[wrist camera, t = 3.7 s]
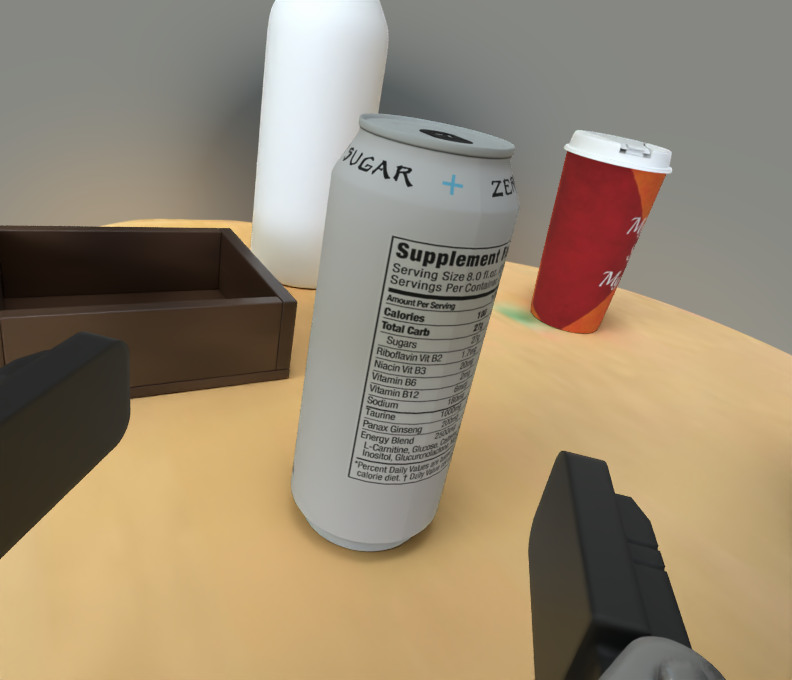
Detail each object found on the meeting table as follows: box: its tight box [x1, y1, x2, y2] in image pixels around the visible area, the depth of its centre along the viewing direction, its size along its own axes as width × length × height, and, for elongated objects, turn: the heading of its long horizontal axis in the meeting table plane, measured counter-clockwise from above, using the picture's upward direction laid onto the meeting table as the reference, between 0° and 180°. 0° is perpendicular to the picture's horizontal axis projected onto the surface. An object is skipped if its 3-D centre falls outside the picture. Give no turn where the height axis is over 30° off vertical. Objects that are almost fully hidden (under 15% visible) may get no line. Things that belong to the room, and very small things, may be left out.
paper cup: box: [531, 130, 672, 333], centre depth 46 cm, size 8×8×14 cm
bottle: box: [250, 0, 388, 289], centre depth 41 cm, size 8×8×30 cm
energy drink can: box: [291, 113, 520, 551], centre depth 22 cm, size 6×6×15 cm
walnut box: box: [0, 226, 297, 398], centre depth 32 cm, size 14×12×5 cm
